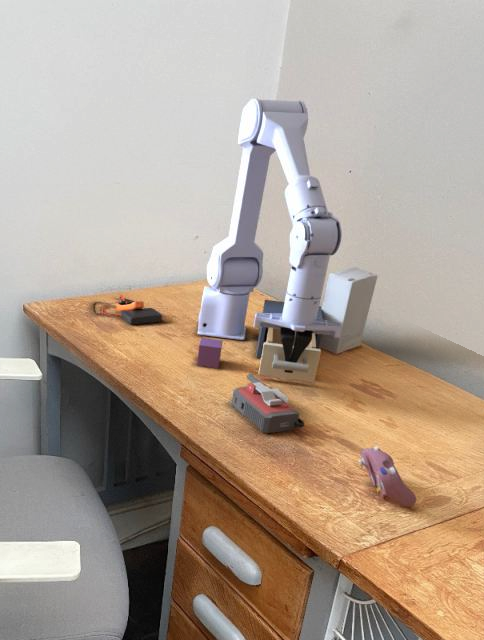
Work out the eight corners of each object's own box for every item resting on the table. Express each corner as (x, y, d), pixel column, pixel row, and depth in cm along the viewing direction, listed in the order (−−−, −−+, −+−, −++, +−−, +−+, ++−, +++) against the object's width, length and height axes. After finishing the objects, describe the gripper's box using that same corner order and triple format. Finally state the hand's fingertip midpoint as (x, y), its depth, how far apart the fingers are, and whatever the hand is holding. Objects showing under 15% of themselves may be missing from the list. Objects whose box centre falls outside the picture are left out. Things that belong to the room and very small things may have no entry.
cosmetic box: (337, 338, 161) (353, 265, 153) (361, 347, 158) (379, 273, 150) (311, 345, 157) (327, 271, 149) (336, 355, 153) (353, 279, 145)
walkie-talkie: (314, 432, 124) (252, 381, 139) (320, 406, 121) (256, 358, 137) (266, 438, 121) (208, 386, 136) (271, 412, 118) (211, 362, 134)
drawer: (314, 393, 134) (321, 361, 131) (257, 385, 136) (262, 354, 132) (312, 359, 148) (318, 329, 145) (260, 352, 149) (265, 323, 146)
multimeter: (80, 299, 172) (80, 283, 170) (130, 296, 176) (131, 281, 174) (109, 327, 158) (110, 310, 156) (162, 323, 162) (164, 307, 160)
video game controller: (361, 481, 114) (351, 443, 111) (391, 470, 114) (382, 431, 110) (387, 519, 106) (376, 479, 102) (419, 506, 105) (410, 466, 102)
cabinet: (314, 365, 148) (323, 327, 143) (256, 358, 149) (262, 319, 145) (313, 343, 158) (321, 306, 154) (258, 336, 159) (264, 299, 155)
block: (196, 365, 144) (199, 345, 142) (198, 357, 147) (201, 337, 145) (218, 368, 143) (221, 347, 141) (219, 360, 147) (222, 340, 145)
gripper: (259, 295, 126) (245, 373, 134) (350, 306, 125) (331, 385, 132) (260, 283, 132) (247, 358, 140) (347, 293, 130) (329, 369, 138)
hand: (288, 370), depth 136 cm, fingers closed
